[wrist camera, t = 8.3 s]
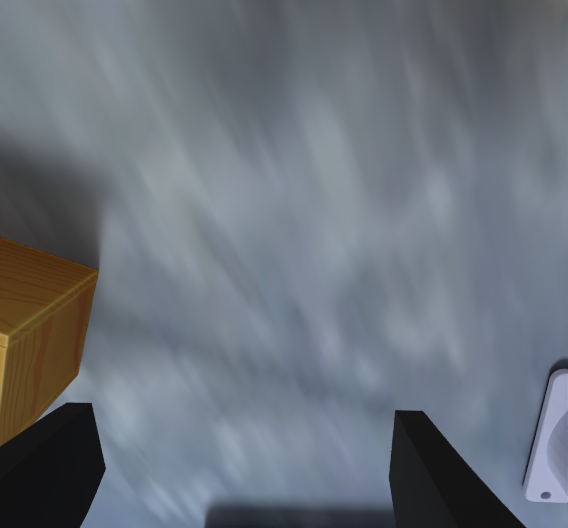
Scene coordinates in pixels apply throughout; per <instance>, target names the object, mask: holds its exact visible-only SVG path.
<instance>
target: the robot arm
mask: <svg viewBox="0 0 568 528" xmlns="http://www.w3.org/2000/svg"><path fill="white" fill-rule="evenodd" d="M105 470H106V467H105V463H104V458H103V453H102V449H101V444H100V440H99V435H98V430H97V426H96V421H95V417H94V412H93V407H92V403H66V404H64V405H62V406H61V407H59V408H57V409H56V410H54V411H52V412H51V413H49V414H48V415H46V416H45V417H43V418H42V419H40V420H39V421H37V422H36V423H34V424H33V425H31V426H30V427H28V428H27V429H25V430H24V431H22V432H21V433H19V434H18V435H16V436H15V437H13V438H12V439H10V440H9V441H7V442H6V443H4V444H3V445H1V446H0V528H80V526H81V524H82V522H83V520H84V519H85V517H86V515H87V513H88V511H89V508H90V506H91V504H92V501H93V499H94V497H95V495H96V492H97V490H98V487H99V485H100V482H101V480H102V477H103V475H104V472H105ZM389 482H390V488H391V495H392V501H393V507H394V513H395V519H396V525H397V528H526V527H525V526H524V525H523V524H522V523H521V522H520V521H519V520H518V519H517V518H516V517H515V516H514V515H513V514H512V512H511V511H510V510H509V509H508V508H507V507H506V506H505V505H504V504H503V503H502V502H501V501H500V500H499V499H498V498H497V497H496V495H495V494H494V493H493V492H492V491H491V490H490V489H489V488H488V487H487V485H486V484H485V483H484V482H483V481H482V480H481V479H480V478H479V477H478V476H477V474H476V473H475V472H474V471H473V470H472V469H471V468H470V467H469V465H468V464H467V463H466V462H465V461H464V460H463V458H462V457H461V456H460V455H459V454H458V453H457V451H456V450H455V449H454V448H453V447H452V445H451V444H450V443H449V442H448V441H447V439H446V438H445V437H444V436H443V435H442V433H441V432H440V431H439V430H438V429H437V427H436V426H435V425H434V424H433V422H432V421H431V420H430V419H429V418H428V416H427V415H426V414H425V413H424V412H423V411H406V410H395V419H394V430H393V440H392V451H391V461H390V472H389ZM523 493H524V495H525V497H526V498H527V499H528V500H529V501H534V502H560V503H568V369H559V370H557V371H555V372H554V373H553V374H552V375H551V377H550V380H549V384H548V388H547V392H546V396H545V400H544V404H543V408H542V412H541V416H540V421H539V425H538V429H537V433H536V437H535V441H534V445H533V449H532V453H531V457H530V461H529V465H528V469H527V473H526V477H525V481H524V485H523Z"/></svg>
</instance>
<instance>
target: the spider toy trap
mask: <svg viewBox="0 0 568 528" xmlns="http://www.w3.org/2000/svg"><path fill="white" fill-rule="evenodd" d="M98 272H99V271H98V270H95V269H92V268H89V267H86V266H83V265H80V264H77V263H74V262H72V261H69V260H66V259H63V258H60V257H57V256H54V255H51V254H48V253H45V252H42V251H39V250H36V249H33V248H30V247H27V246H24V245H21V244H18V243H15V242H12V241H9V240H7V239H4V238H1V237H0V446H1V445H3V444H4V443H6V442H7V441H9V440H10V439H12V438H13V437H15V436H16V435H18V434H19V433H21V432H22V431H24V430H25V429H27V428H28V427H30V426H31V425H33V424H34V423H35V422H36V421H37V420H38V419H39V418H40V416H41V415H42V414H43V413H44V412H45V411H46V410H47V409H48V408H49V406H50V405H51V404H52V403H53V402H54V401H55V400H56V399H57V398H58V396H59V395H60V394H61V393H62V392H63V391H64V390H65V389H66V388H67V386H68V385H69V384H70V383H71V382H72V381H73V380H74V379H75V378H76V376H77V375H78V372H79V365H80V360H81V355H82V350H83V345H84V340H85V336H86V331H87V326H88V321H89V316H90V311H91V306H92V301H93V296H94V291H95V286H96V281H97V277H98Z"/></svg>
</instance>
